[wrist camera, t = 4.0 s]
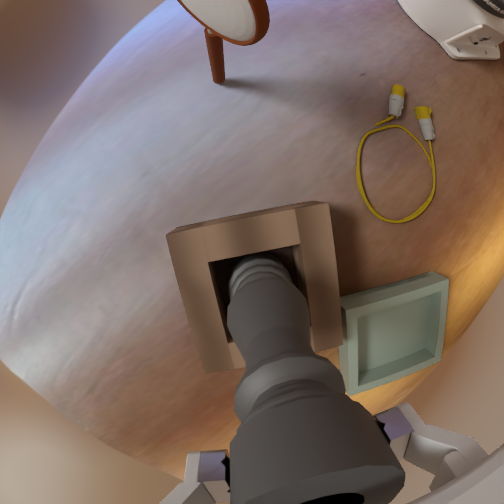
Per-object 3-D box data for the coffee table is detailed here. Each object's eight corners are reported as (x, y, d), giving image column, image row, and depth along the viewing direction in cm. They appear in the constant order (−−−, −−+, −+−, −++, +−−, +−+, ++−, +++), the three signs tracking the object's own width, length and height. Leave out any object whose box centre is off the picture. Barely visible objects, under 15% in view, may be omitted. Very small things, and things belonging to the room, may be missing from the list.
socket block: (312, 200, 29) (328, 203, 24) (328, 323, 32) (343, 344, 27) (176, 227, 29) (165, 234, 24) (208, 348, 32) (205, 373, 27)
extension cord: (456, 149, 29) (465, 148, 27) (399, 242, 31) (407, 245, 29) (394, 80, 27) (403, 75, 25) (325, 173, 29) (331, 172, 27)
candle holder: (269, 239, 29) (396, 425, 5) (297, 288, 31) (421, 492, 6) (216, 270, 30) (176, 506, 5) (247, 317, 31) (277, 550, 7)
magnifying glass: (186, 63, 25) (134, -71, 5) (198, 53, 25) (163, -85, 5) (242, 114, 27) (259, -10, 7) (254, 104, 26) (291, -26, 7)
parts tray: (432, 270, 32) (449, 278, 28) (427, 349, 34) (440, 360, 31) (334, 298, 31) (345, 310, 28) (340, 380, 34) (348, 396, 30)
